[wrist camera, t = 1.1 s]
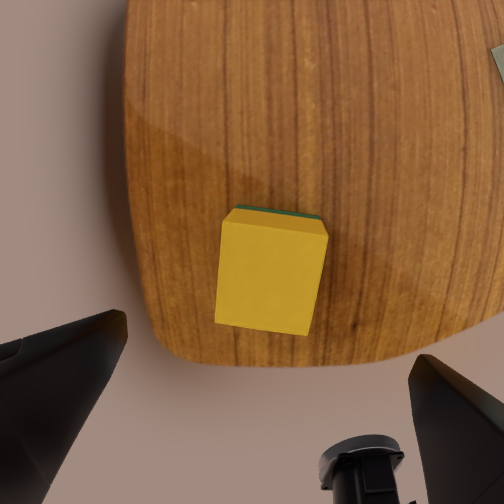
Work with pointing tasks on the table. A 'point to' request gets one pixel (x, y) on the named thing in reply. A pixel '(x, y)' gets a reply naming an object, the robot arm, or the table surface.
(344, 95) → the table surface
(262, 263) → the sponge
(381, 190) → the table surface
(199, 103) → the table surface
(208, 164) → the table surface
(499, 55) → the tray
